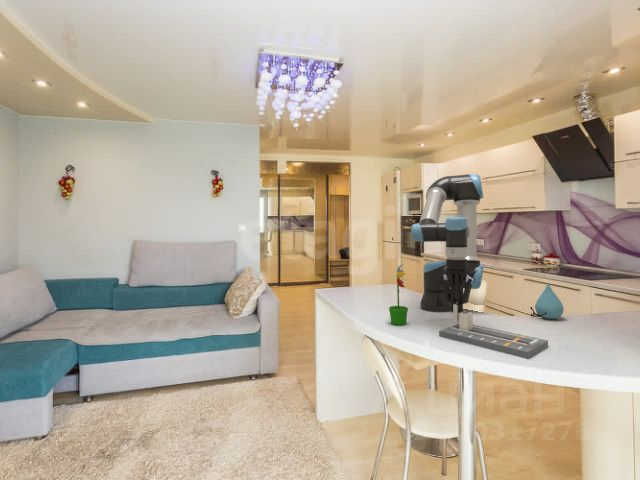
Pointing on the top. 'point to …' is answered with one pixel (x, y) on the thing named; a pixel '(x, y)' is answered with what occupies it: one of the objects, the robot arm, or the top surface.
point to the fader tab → (466, 320)
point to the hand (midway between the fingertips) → (457, 321)
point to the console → (496, 340)
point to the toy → (548, 305)
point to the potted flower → (398, 312)
